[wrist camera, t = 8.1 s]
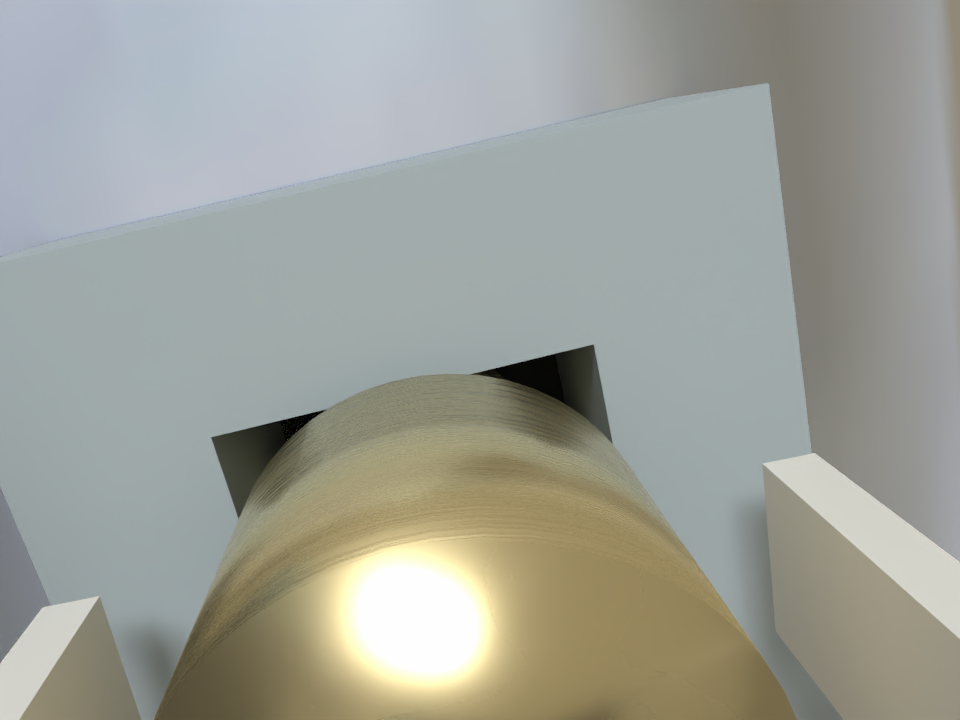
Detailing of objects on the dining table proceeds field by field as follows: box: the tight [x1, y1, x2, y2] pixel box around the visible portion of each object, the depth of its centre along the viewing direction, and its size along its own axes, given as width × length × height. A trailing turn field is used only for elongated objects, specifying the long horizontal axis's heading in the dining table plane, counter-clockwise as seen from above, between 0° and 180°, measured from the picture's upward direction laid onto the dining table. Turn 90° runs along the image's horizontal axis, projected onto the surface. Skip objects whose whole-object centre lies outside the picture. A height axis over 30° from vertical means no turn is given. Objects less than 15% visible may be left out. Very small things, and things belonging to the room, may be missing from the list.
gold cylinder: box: [154, 369, 797, 720], centre depth 12 cm, size 6×6×10 cm
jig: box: [0, 83, 843, 720], centre depth 15 cm, size 12×12×4 cm
